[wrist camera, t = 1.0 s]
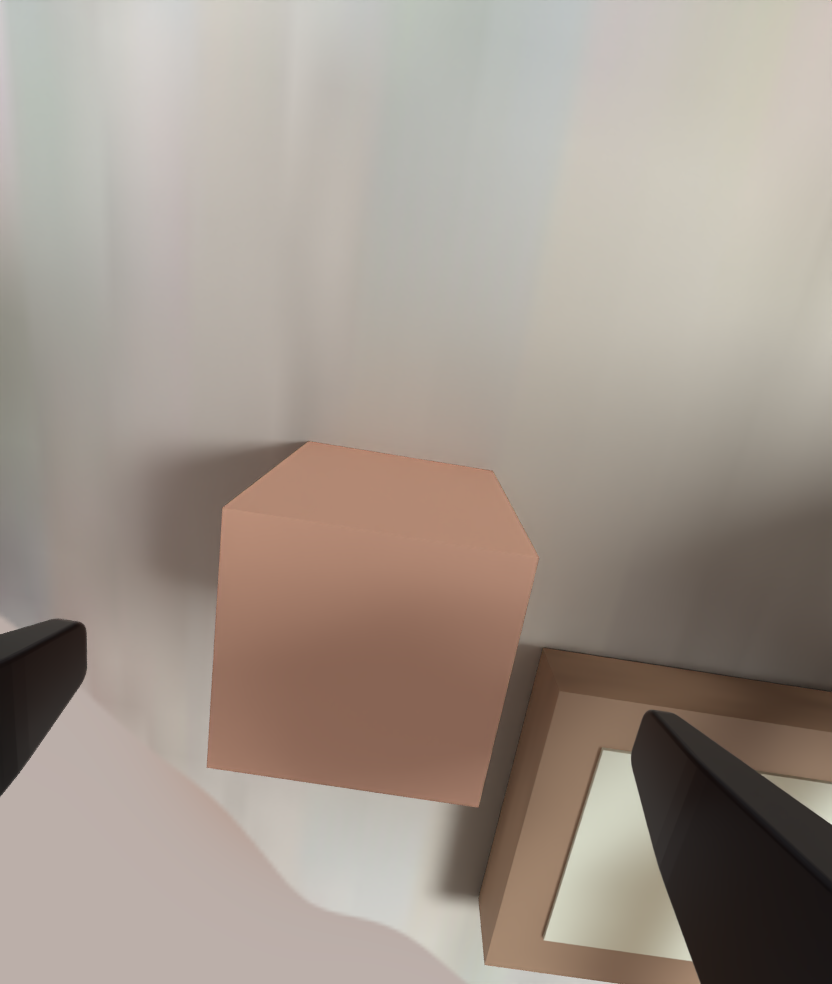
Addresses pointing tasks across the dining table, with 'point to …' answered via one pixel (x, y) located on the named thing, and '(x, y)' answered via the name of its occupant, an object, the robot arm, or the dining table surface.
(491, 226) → the dining table surface
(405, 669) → the terracotta block
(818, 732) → the walnut plinth
